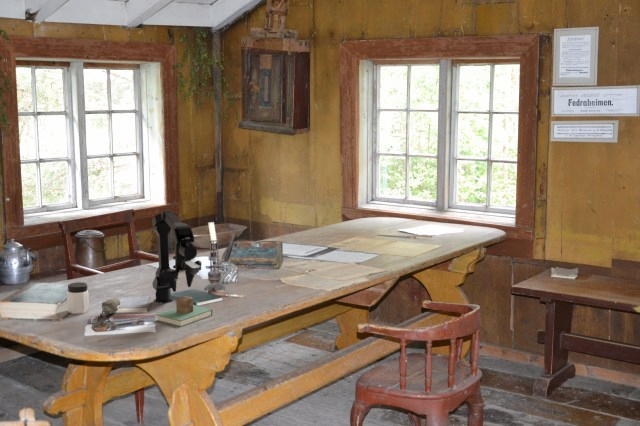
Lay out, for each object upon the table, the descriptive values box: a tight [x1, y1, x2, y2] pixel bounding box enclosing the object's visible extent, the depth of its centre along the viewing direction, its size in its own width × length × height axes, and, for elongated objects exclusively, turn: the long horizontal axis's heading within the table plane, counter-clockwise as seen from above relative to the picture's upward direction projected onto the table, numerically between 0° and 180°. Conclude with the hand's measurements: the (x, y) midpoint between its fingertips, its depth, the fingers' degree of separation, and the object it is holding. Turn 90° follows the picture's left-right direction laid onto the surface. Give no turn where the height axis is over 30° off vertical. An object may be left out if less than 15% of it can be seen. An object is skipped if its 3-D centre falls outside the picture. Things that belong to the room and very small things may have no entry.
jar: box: [66, 281, 90, 315], centre depth 359 cm, size 9×8×12 cm
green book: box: [155, 304, 213, 327], centre depth 354 cm, size 20×14×3 cm
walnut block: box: [175, 295, 194, 314], centre depth 353 cm, size 5×5×6 cm
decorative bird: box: [99, 297, 121, 318], centre depth 356 cm, size 5×16×8 cm, turn 172°
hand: (181, 289), depth 355 cm, fingers open, 9 cm apart
